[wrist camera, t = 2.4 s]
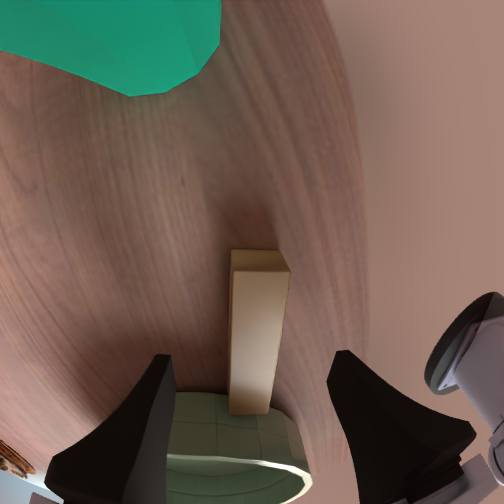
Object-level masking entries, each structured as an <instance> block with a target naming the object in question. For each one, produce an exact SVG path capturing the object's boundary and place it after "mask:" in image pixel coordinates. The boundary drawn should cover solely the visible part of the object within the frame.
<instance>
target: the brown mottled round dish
mask: <svg viewBox="0 0 504 504" xmlns="http://www.w3.org/2000/svg"><path fill="white" fill-rule="evenodd" d="M0 469H1V470H4V471H5V470H8V469H10V471H12V472H13V473H15V474H16V475H18V474H19V475H18V476H20V477H22V476H23V477H25V478H27V475H26V474H27V473H30V474H36V472H35V471H34V469H33V468H32V467H31V466H30V465H29V464H28V463H27V462H26V461H24V460H23V459H22V458H21V457H20V456H18V455H17V454H16V453H15V452H14V451H12V450H11V449H10V448H9V447H7V446H6V445H5V444H4V443H2V442H1V441H0ZM23 477H22V478H23Z"/></svg>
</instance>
